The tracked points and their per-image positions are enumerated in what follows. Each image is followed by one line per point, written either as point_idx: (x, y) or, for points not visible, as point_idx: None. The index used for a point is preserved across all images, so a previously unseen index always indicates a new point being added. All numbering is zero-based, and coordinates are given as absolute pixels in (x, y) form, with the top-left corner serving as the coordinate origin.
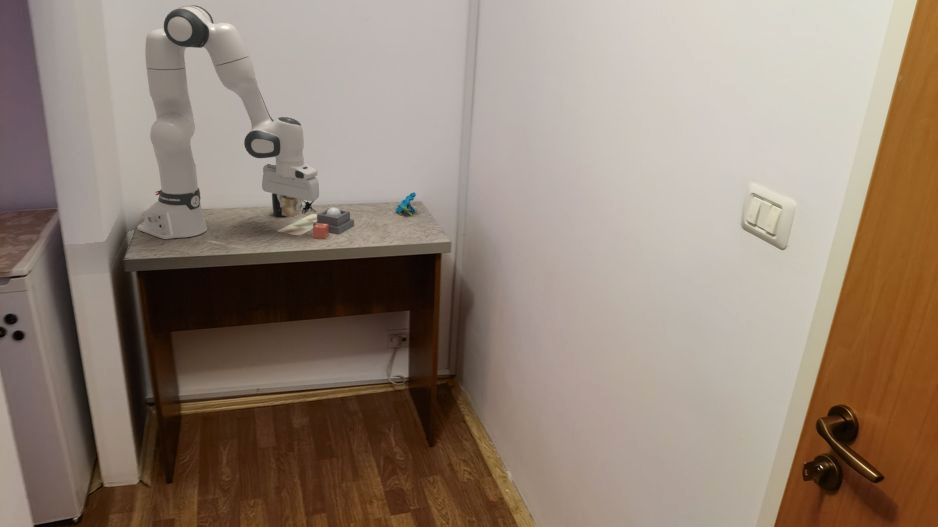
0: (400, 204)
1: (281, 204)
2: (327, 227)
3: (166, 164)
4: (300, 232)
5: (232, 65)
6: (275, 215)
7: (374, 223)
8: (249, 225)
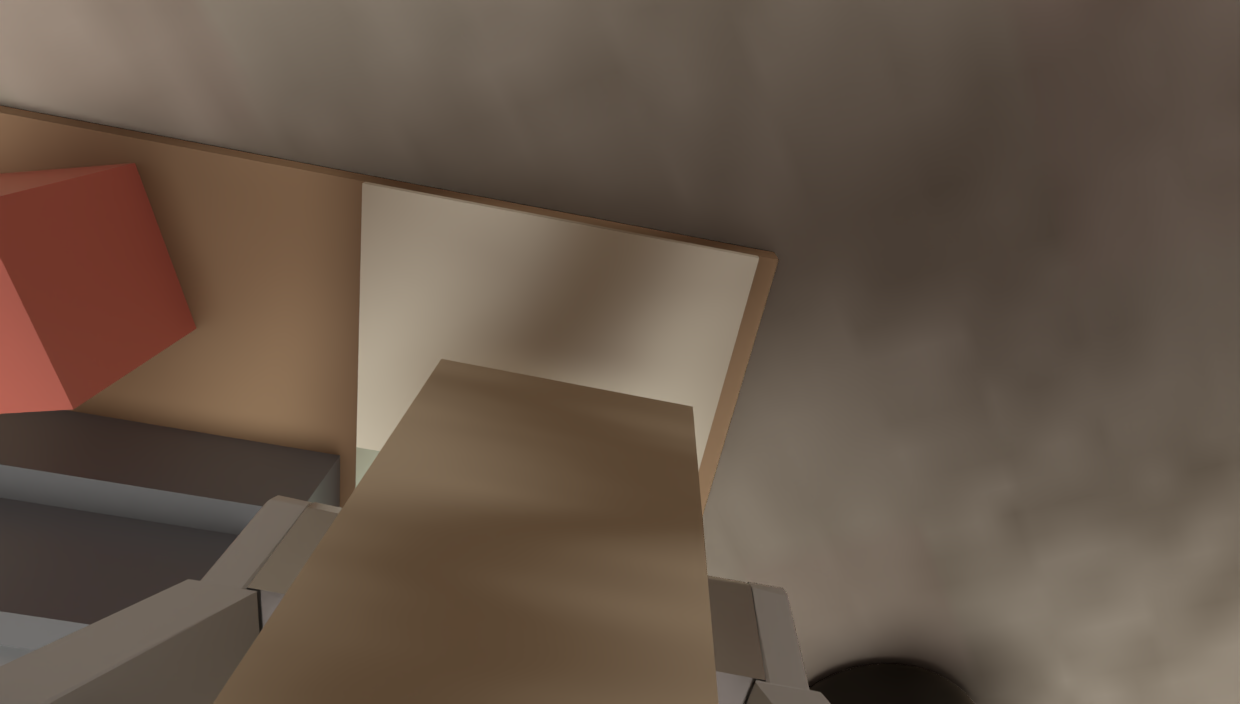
0: None
1: (753, 634)
2: None
3: None
4: (419, 309)
5: None
6: (945, 693)
7: None
8: (1198, 410)
